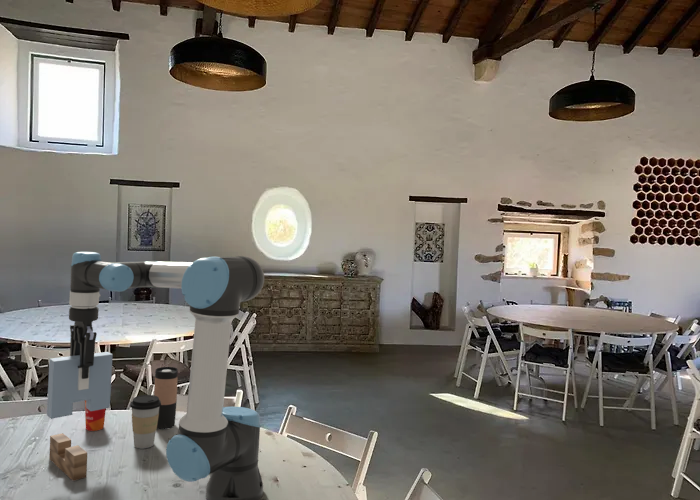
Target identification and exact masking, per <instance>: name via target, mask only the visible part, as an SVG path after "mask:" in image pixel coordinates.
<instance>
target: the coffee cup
mask: <svg viewBox="0 0 700 500" xmlns="http://www.w3.org/2000/svg"><path fill="white" fill-rule="evenodd" d="M159 406H161V401H160V400H159V397H157V396H154V394H142V395H138V396H137V395H136V396H134V397H133V398H132V401H131V402H130V404H129V407H130V408H131V424H132V432H133V435H132V436H133V445H134V448H136V449H141V450H142V449H143V450H144V449H148V448H150V447H152V446H154V444H155V438H156V433H157V430H158V429H157V423H158V416H159Z"/></svg>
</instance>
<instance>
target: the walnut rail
mask: <svg viewBox="0 0 700 500" xmlns="http://www.w3.org/2000/svg"><path fill="white" fill-rule="evenodd" d="M48 459H49V461H51V462H52V463H53V464H54V465H55V466H56V467H57V468H58V469H59V470H60V471H61V472H63V473H64V475H66V476H67V477H68V478H69V479H70V480H71V481H72V482H75V481H79V480H83V479H86V478H87V475H88V474H87V472H88V471H87V470H88V451H87V450H85V449H83V448H82V446H81V447H80V445H78V444H77V445H74V446H73V445H72V439H71V438H70V437H68V436H67V435H66V434H64V433H57V434H52V435H50V436H49V457H48Z"/></svg>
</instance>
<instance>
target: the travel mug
mask: <svg viewBox="0 0 700 500" xmlns="http://www.w3.org/2000/svg"><path fill="white" fill-rule="evenodd" d="M178 371H179V369H178V368H177V367H174V366H161V367H157V368H156V369H155V372H154V390H153V391H154V392H153V395H154V396H157V397H159V400H160V401H161V406H159V416H158V423H157V429H156V430H169V429H172V428H174V427H175V426H176V425H175V424H176V411H177V404H178V403H177V400H178V375H179V374H178Z"/></svg>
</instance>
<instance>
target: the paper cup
mask: <svg viewBox="0 0 700 500" xmlns="http://www.w3.org/2000/svg"><path fill="white" fill-rule="evenodd" d="M106 411H107V408H106V409H100V410H95V411H89V410H88V409H87V408H86V400H85V401H84V418H85V419H84V421H85V430H86V431H89V432H95V431H96V432H97V431H100V430H103V429H104V426H105V422H106V421H105V419H106V418H105V417H106Z"/></svg>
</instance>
